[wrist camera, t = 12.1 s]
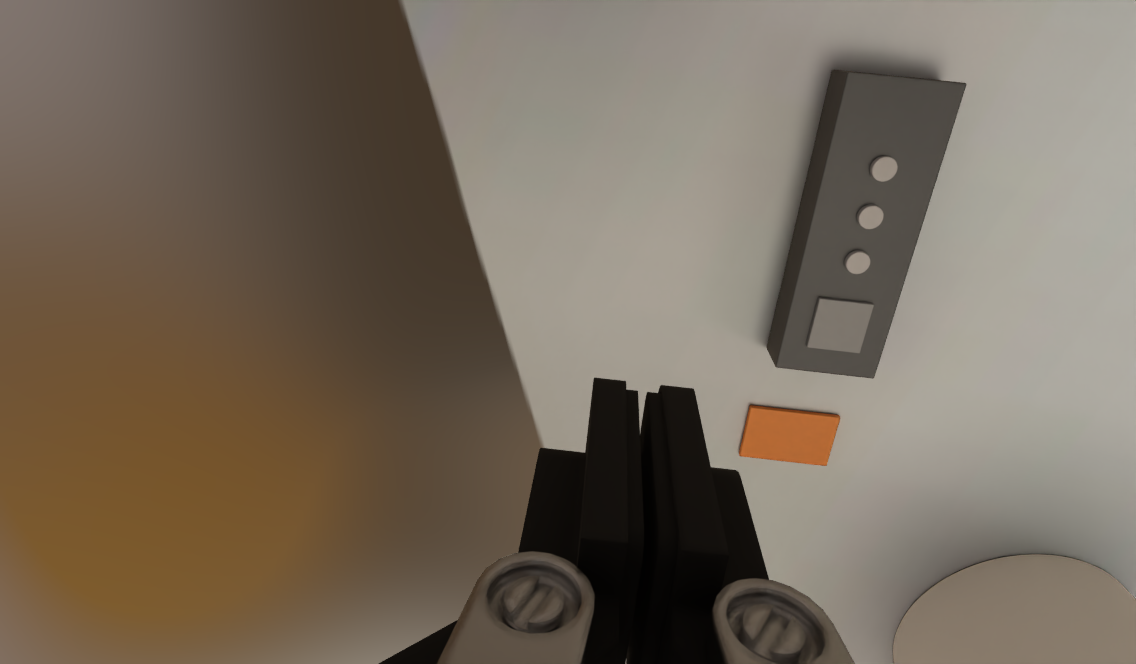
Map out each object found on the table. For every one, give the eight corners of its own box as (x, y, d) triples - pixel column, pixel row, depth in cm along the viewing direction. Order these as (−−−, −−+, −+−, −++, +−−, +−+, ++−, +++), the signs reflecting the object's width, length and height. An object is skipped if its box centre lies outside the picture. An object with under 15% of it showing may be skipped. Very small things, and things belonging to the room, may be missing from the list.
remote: (831, 69, 28) (850, 71, 25) (942, 80, 28) (971, 83, 25) (765, 348, 33) (776, 370, 31) (858, 358, 33) (876, 382, 30)
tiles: (868, -121, 25) (871, -123, 25) (991, -111, 25) (995, -113, 25) (738, 453, 35) (739, 456, 35) (824, 463, 35) (826, 466, 35)
